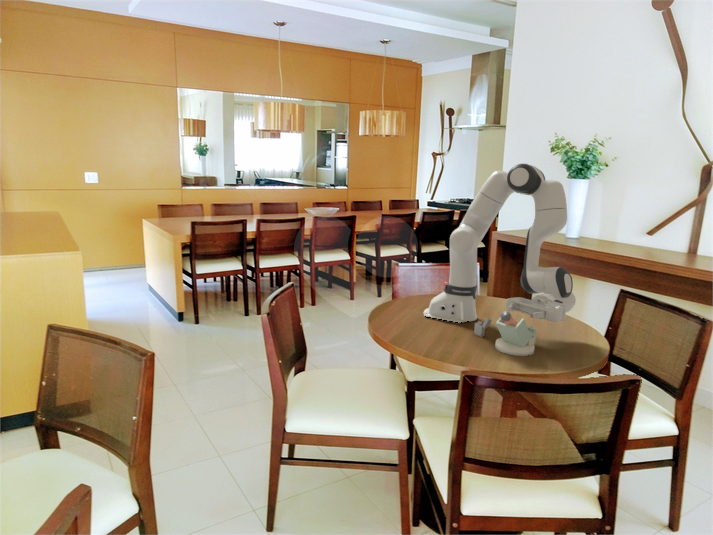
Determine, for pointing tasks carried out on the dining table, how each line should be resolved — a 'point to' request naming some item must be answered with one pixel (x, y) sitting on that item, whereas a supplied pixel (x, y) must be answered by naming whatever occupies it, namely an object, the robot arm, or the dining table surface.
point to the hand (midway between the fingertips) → (520, 311)
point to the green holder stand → (516, 338)
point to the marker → (508, 318)
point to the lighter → (481, 327)
